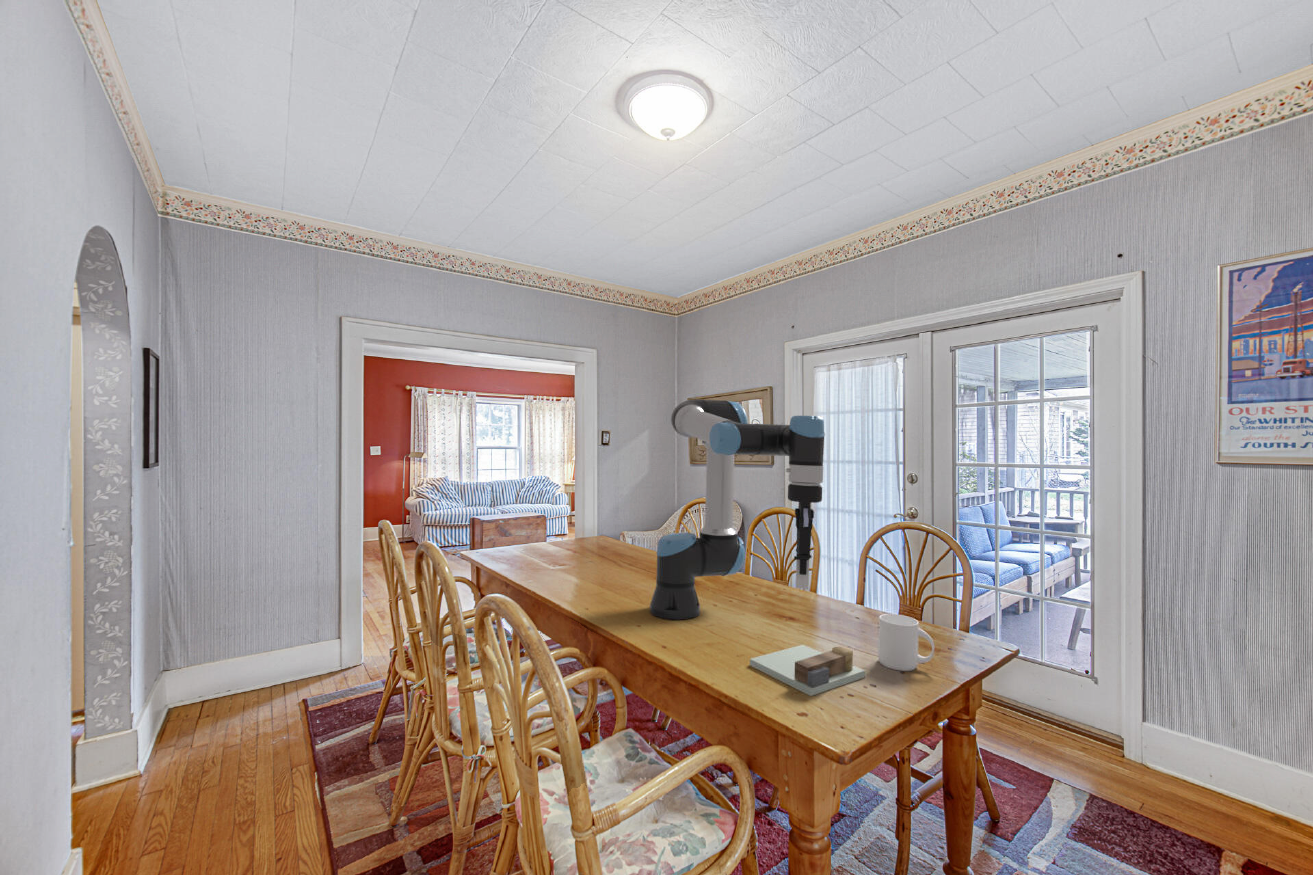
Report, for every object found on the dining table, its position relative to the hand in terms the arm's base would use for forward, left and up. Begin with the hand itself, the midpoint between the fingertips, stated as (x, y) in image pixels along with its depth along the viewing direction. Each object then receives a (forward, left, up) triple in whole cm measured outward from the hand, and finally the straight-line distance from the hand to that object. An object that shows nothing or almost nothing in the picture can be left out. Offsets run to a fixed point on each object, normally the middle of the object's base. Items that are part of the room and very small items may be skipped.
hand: (801, 587), depth 125 cm
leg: (+6, +2, -18) cm, 19 cm away
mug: (+10, +25, -20) cm, 33 cm away
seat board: (0, +2, -19) cm, 19 cm away
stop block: (+9, -4, -18) cm, 20 cm away
